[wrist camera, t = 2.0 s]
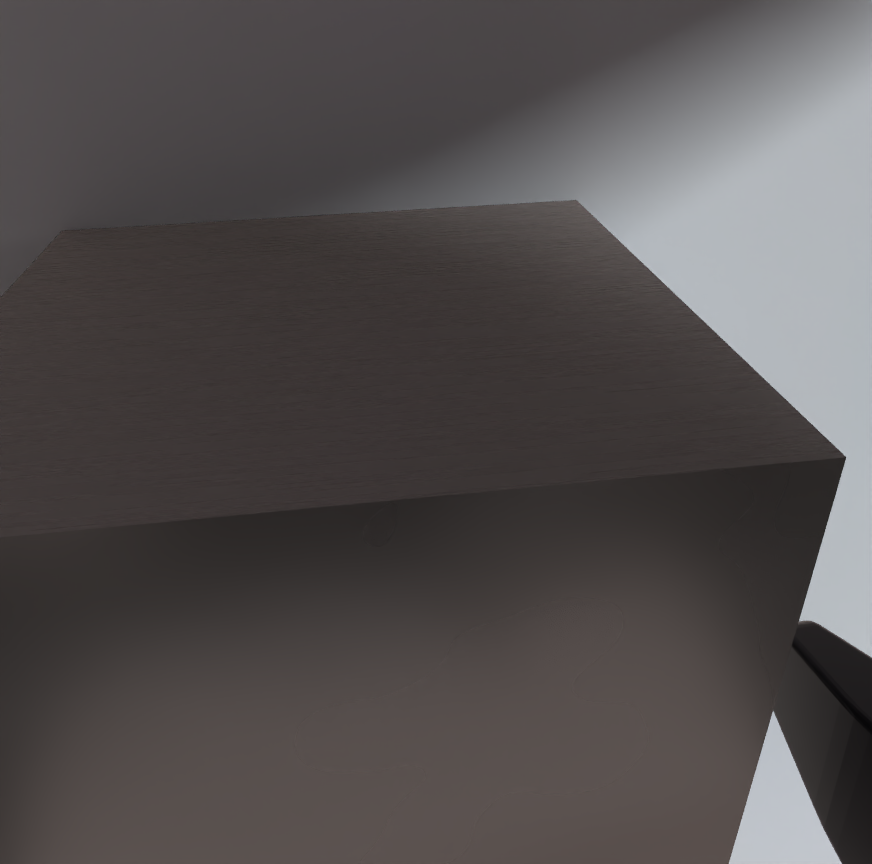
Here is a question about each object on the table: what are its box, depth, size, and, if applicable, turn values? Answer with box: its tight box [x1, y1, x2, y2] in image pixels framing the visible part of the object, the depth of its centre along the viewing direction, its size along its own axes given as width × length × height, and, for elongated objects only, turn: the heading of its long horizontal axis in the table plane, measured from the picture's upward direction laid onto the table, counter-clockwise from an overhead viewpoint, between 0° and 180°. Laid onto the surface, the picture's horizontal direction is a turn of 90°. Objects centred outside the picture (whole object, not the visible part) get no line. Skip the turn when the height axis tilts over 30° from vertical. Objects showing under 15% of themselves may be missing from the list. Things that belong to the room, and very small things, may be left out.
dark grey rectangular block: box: [0, 200, 846, 864], centre depth 8 cm, size 5×10×5 cm, turn 1°
